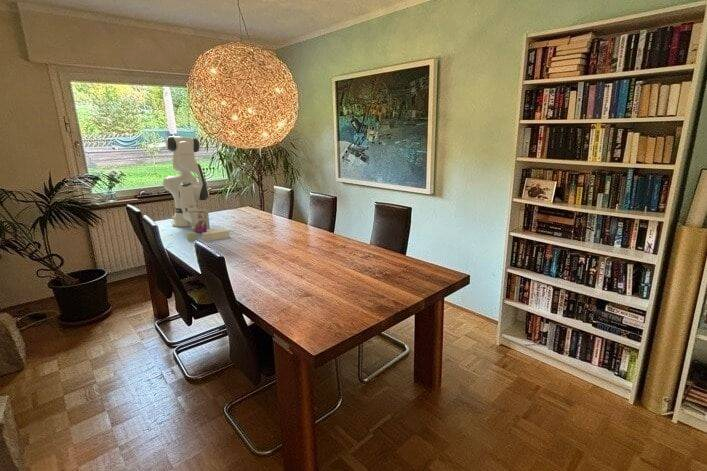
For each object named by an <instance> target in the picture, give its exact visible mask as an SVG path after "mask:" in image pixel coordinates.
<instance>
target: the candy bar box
mask: <svg viewBox="0 0 707 471" xmlns="http://www.w3.org/2000/svg"><path fill="white" fill-rule="evenodd" d="M197 213H198V222H197V223H195V229H192V232H193V231H194V232H195V233H204V232H207V231H206V230H207V229H211V228H210V226H211V225H210V217H209V209H199V208H198V211H197Z"/></svg>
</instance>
